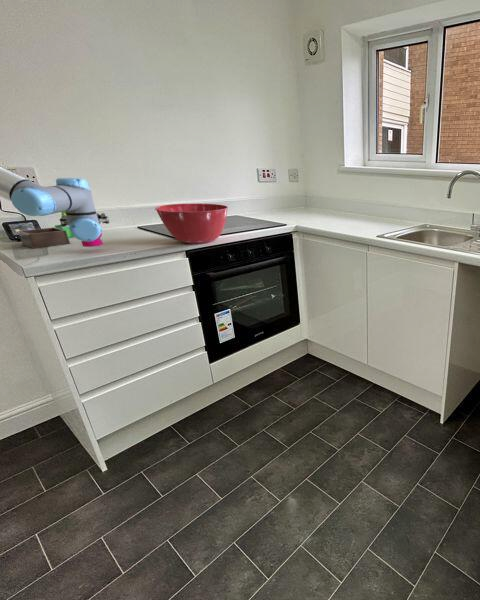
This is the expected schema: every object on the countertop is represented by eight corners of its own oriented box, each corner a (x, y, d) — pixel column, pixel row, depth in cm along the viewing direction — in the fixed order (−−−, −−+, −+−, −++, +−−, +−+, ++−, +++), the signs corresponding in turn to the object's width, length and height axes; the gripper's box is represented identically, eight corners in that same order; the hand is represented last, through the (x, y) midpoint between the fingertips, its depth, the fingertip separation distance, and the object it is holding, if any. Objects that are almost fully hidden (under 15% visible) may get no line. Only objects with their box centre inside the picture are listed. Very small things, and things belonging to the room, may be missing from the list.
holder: (33, 248, 140) (28, 234, 138) (22, 244, 145) (17, 231, 143) (70, 243, 149) (65, 230, 147) (58, 240, 155) (54, 227, 153)
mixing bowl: (245, 239, 168) (241, 206, 162) (188, 250, 144) (181, 212, 139) (207, 232, 180) (202, 201, 174) (148, 242, 156) (140, 206, 150)
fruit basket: (63, 238, 157) (55, 213, 153) (56, 236, 162) (47, 211, 158) (94, 234, 167) (87, 210, 162) (86, 232, 171) (79, 209, 167)
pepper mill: (105, 245, 138) (91, 193, 131) (81, 247, 134) (65, 193, 127) (104, 242, 143) (90, 191, 136) (80, 244, 139) (65, 192, 132)
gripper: (53, 237, 118) (56, 226, 134) (120, 232, 129) (115, 223, 145) (46, 214, 115) (50, 206, 131) (115, 211, 126) (111, 204, 142)
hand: (84, 215), depth 138 cm, fingers closed on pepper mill, 5 cm apart
